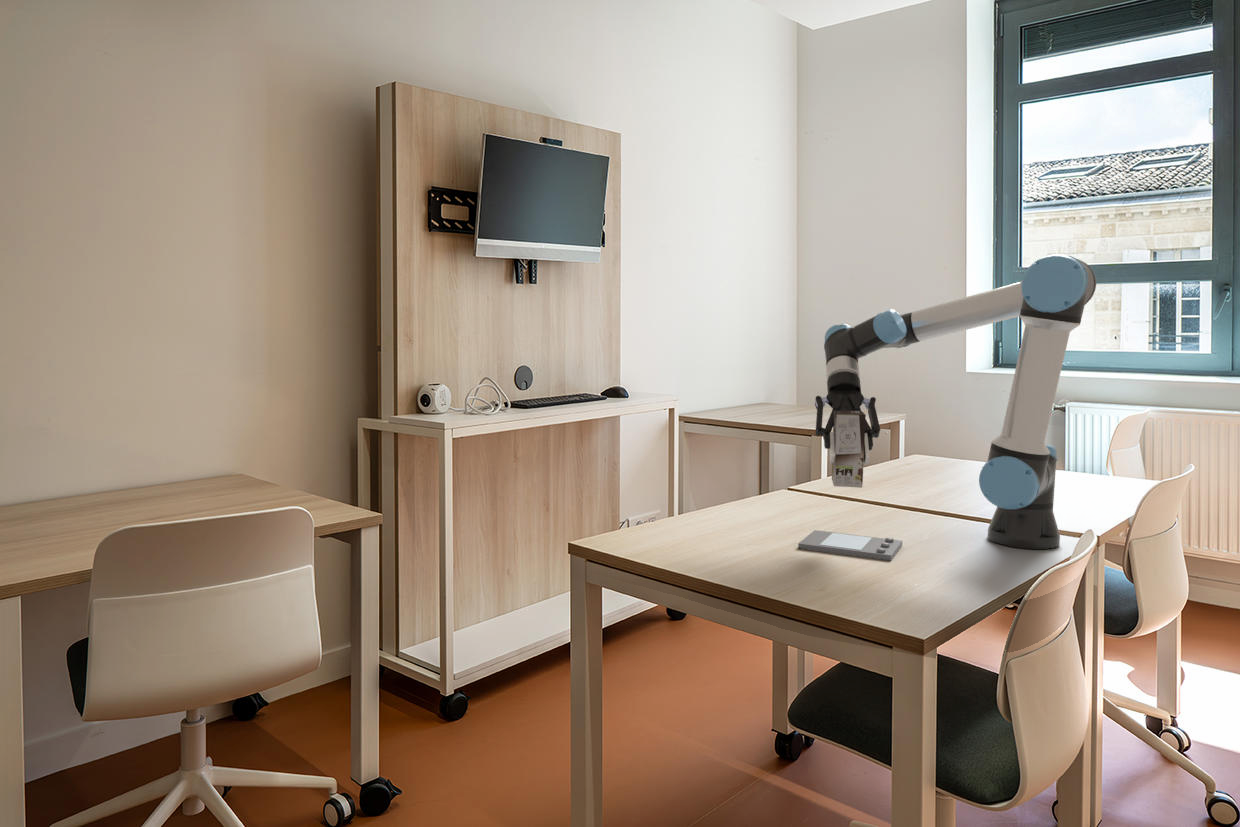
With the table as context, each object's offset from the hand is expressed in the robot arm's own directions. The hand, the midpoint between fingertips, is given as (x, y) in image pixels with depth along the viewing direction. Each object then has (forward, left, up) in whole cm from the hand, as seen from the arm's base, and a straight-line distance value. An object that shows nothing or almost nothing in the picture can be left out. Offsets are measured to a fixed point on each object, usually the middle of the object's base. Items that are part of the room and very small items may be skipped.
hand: (849, 459), depth 187 cm
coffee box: (+1, -3, -6) cm, 7 cm away
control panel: (0, -3, -20) cm, 21 cm away
